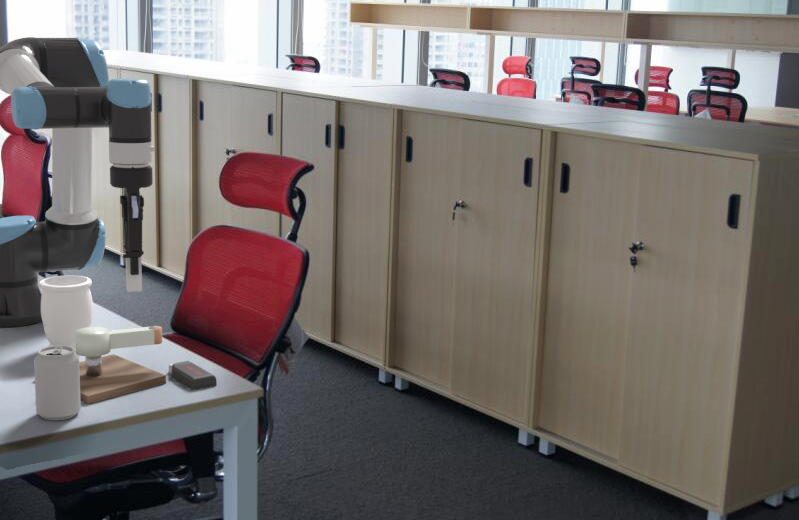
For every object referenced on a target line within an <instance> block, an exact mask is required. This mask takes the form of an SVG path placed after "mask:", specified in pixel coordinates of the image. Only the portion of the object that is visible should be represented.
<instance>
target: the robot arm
mask: <svg viewBox="0 0 799 520" xmlns="http://www.w3.org/2000/svg"><path fill="white" fill-rule="evenodd" d="M0 91H2V92H4V93H5V94H8V95H10V109H11V110H10V111H11V117H12V122H13V123H14V126H15V127H17V128H19V129H28V130H31V129H32V130H35V131H37V130H41V129H42V130H43V129H46V130H47V129H49V130H50V129H51V133H52V134H51V137H52V138H51V140H52V142H51V145H52V146H51V147H52V148H51V155H52V156H51V157H52V158H51V164H52V165H51V179H52V180H51V181H52V183H51V187H52V188H51V193H52V194H51V196H52V197H51V204H52V205H51V207H50V208H48V210H46V212H45V214H44V215H45V217H44V218H45V219H44V221H37V220H36V219H35V217H34V216H33V215H26V214H25V215H24V214H23V215H13V216H12V215H11V216H6V217H1V218H0V328H2V327H3V328H4V327H5V328H8V327H10V328H12V327H13V328H14V327H23V326H28V325H34V324H38V323H40V322H43V321H42V317H41V296H42V292H41V291H42V290H41V289H40V285H39V279H38V278H39V277H38V273H45V272H46V273H47V272H48V273H49V272H57V271H58V272H59V271H60V272H61V271H62V272H63V271H75V270H78V271H81V270H84V269H90V268H91V269H92V268H95V267H97V266H98V265H100V263H101V261H102V260H103V257H104V253H105V248H106V241H107V240H106V238H107V237H106V236H105V235H106V227H105V223H104V221H103V220H102V219H101V218H98V217H99V216H98V215H99V214H98V212H97V211H96V210H94V208H92V176H93V175H92V166H93V165H92V164H93V162H92V160H93V157H92V156H93V129H94V128H95V129H98V128H101V129H102V128H103V129H104V128H107V129H108V160H109V163H110V164H112V165H111V166H110V167H109V177H110V178H109V181H110V182H109V184H110V185H111V186H112V187H113V188H117V189H123V195H120V196H119V202H120V205H121V217H122V219H123V238H124V245H123V249H124V253H123V254H122V258H123V259H125V278H126V285H125V286H126V292H128V293H129V292H130V293H131V292H133V293H134V292H142V291H143V275H142V271H143V270H142V265H143V264H142V256H143V255H144V250H143V220H144V206H145V197H143V195H141V192H140V189H142V188H144V189H145V188H149V187H151V186H152V185H153V183H154V182H153V167H152V166H151V165H150V164H151V163H152V162H153V155H152V153H153V152H155V150H156V147H155V146H154V145H152V100H153V98H152V93H151V85H150V82H149V81H148V80H147V79H144V78H143V79H139V78H112V79H109V69H108V65H107V59H106V56H105V53H104V50H103V48H102V46H101V44H100V43H99V42H98V41H96V40H94V39H90V38H80V37H33V36H32V37H31V36H29V37H21V38H17V39H13V40H12V41H9V42H7V43H5V44H4V45H2V46H1V47H0ZM151 152H152V153H151Z"/></svg>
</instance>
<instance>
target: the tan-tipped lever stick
mask: <svg viewBox="0 0 799 520" xmlns="http://www.w3.org/2000/svg"><path fill="white" fill-rule="evenodd" d="M75 341H76V354H77V355H78V356H81V357H85V356H87V357H94V356H102V357H103V356H106V355H109V353H111V350H114V349H116V350H117V349H125V348H133V347H134V348H135V347H143V346H144V347H145V346H153V345H161V344H162V343H163V327H162V326H160V325H153V326H145V327H144V326H143V327H142V326H141V327H133V328H124V329H112V330H110V329H109V328H107V327H104V326H103V327H102V326H91V327H86V328H81V329H78V330H77V331H75Z"/></svg>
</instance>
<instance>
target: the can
mask: <svg viewBox="0 0 799 520" xmlns="http://www.w3.org/2000/svg"><path fill="white" fill-rule="evenodd" d="M79 362H80V357H79V355H78V354H76V353H75V349H74V348H73V347H70V346H64V345H55V346H49V345H48V346H44V347H41V348H40V349H38V350H37V355H36V356H35V358H34V359H33V364H34V365H33V369H34V370H33V371H34V389H35V390H34V391H35V409H36V410H35V411H36V414H37V415H38V416H40V417H41V418H42V419H44V420H47V421H48V420H49V421H64V420H67V419H71V418H73V417H75V416H76V415H77V413H78V412H80V411H81V408H82V407H81V406H82V404H81V402H82V401H81V400H80V371H79Z"/></svg>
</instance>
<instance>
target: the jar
mask: <svg viewBox="0 0 799 520" xmlns="http://www.w3.org/2000/svg"><path fill="white" fill-rule="evenodd" d="M92 281H93V280H92V279H91V278H90V277H87V276H83V275H57V276H50V277H46V278H43V279H41V280H40V281H39V288H41V290H42V292H41V294H42V296H41V317H42V321H41V322H42V324H43V329H44V335H45V336H46V337H45V338H46V339H47V341H48V342H49V344H48V346H55V345H64V346H70V347H73V348H74V349H75V353H76V341H75V331H77V330H78V329H81V328H86V327H92V320H93V313H94V304H93V295H92V293H91V289H90V287H91V286H92V284H93V282H92Z"/></svg>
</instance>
